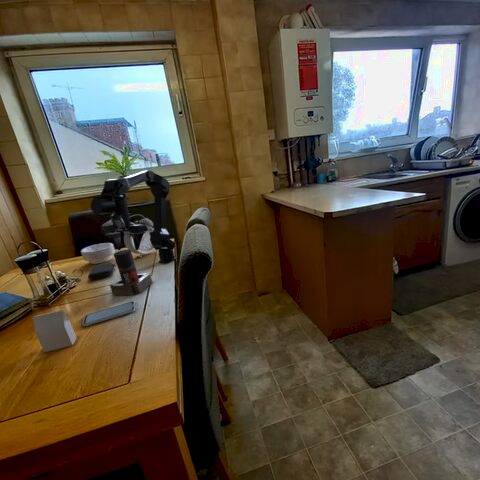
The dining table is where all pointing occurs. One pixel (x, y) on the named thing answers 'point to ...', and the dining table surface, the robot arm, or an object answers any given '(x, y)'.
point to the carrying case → (101, 271)
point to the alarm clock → (145, 242)
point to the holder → (131, 285)
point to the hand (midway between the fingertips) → (128, 250)
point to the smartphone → (109, 313)
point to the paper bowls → (98, 253)
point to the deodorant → (126, 266)
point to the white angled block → (54, 330)
